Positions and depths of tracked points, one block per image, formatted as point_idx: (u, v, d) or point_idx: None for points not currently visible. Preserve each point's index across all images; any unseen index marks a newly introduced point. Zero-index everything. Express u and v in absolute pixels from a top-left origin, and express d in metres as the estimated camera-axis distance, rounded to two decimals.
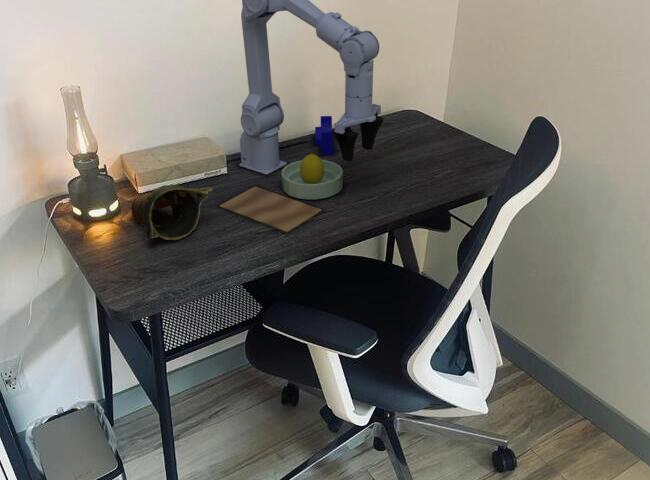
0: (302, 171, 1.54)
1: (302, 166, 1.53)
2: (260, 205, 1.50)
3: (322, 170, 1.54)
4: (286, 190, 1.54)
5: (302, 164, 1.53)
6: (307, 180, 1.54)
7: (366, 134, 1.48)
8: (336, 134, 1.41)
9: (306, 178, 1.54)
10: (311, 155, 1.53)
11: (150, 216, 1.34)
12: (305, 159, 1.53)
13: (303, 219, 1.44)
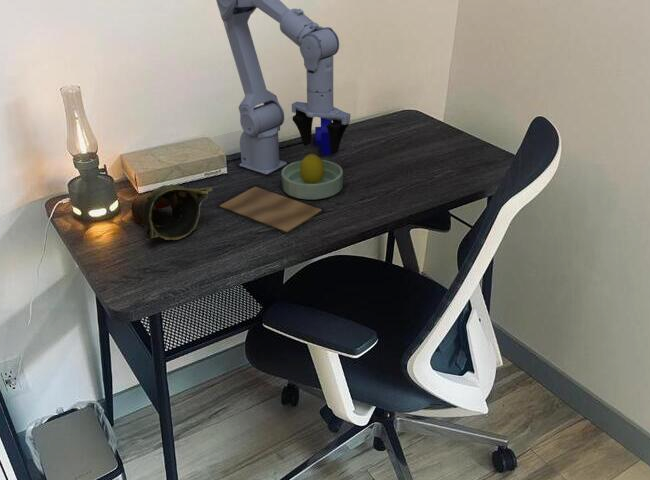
0: (302, 171, 1.54)
1: (302, 166, 1.53)
2: (260, 205, 1.50)
3: (322, 170, 1.54)
4: (286, 190, 1.54)
5: (302, 164, 1.53)
6: (307, 180, 1.54)
7: None
8: None
9: (306, 178, 1.54)
10: (311, 155, 1.53)
11: (150, 216, 1.34)
12: (305, 159, 1.53)
13: (303, 219, 1.44)
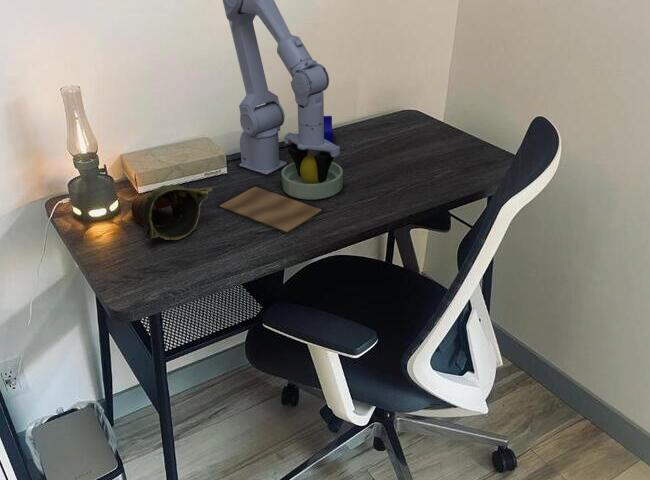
0: (302, 171, 1.54)
1: (302, 166, 1.53)
2: (260, 205, 1.50)
3: None
4: (286, 190, 1.54)
5: (302, 164, 1.53)
6: (307, 180, 1.54)
7: None
8: None
9: (306, 178, 1.54)
10: (311, 155, 1.53)
11: (150, 216, 1.34)
12: (305, 159, 1.53)
13: (303, 219, 1.44)
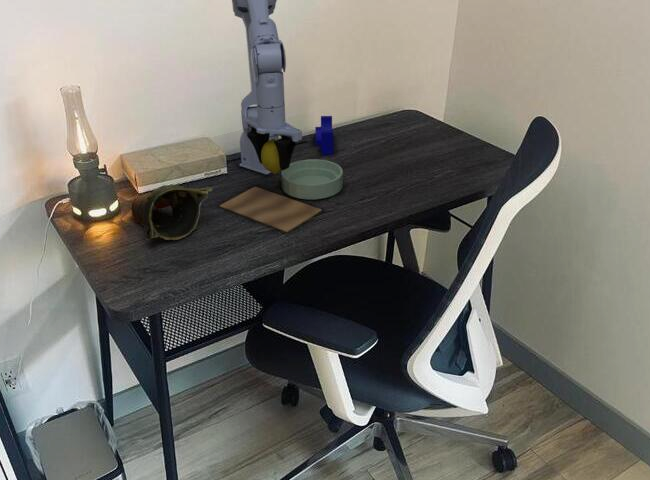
0: (263, 158, 1.42)
1: (263, 152, 1.42)
2: (260, 205, 1.50)
3: None
4: (286, 190, 1.54)
5: (263, 150, 1.42)
6: (268, 168, 1.43)
7: None
8: None
9: (267, 166, 1.43)
10: (272, 140, 1.41)
11: (150, 216, 1.34)
12: (266, 145, 1.42)
13: (303, 219, 1.44)
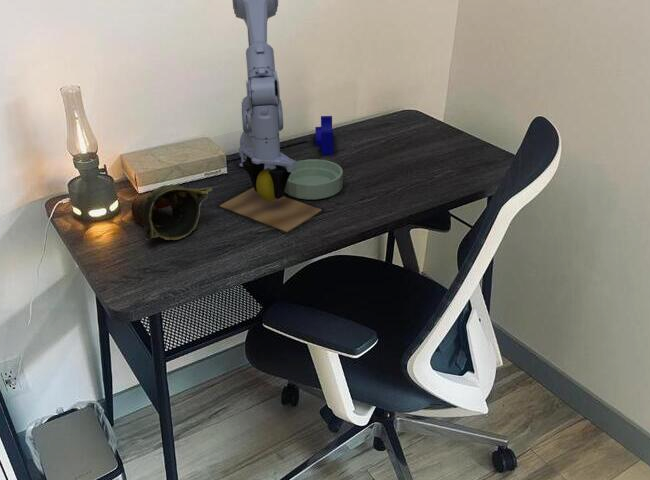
0: (258, 186, 1.44)
1: (258, 181, 1.44)
2: (260, 205, 1.50)
3: None
4: (286, 190, 1.54)
5: (258, 179, 1.44)
6: (263, 196, 1.45)
7: None
8: None
9: (262, 194, 1.45)
10: (267, 169, 1.44)
11: (150, 216, 1.34)
12: (261, 174, 1.44)
13: (303, 219, 1.44)
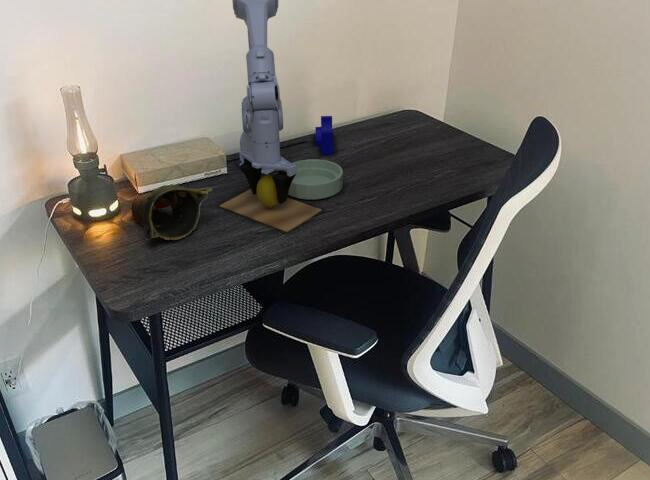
0: (258, 193, 1.45)
1: (258, 187, 1.45)
2: (260, 205, 1.50)
3: None
4: None
5: (258, 185, 1.45)
6: (264, 202, 1.46)
7: None
8: None
9: (262, 200, 1.46)
10: (267, 176, 1.44)
11: (150, 216, 1.34)
12: (261, 180, 1.45)
13: (303, 219, 1.44)
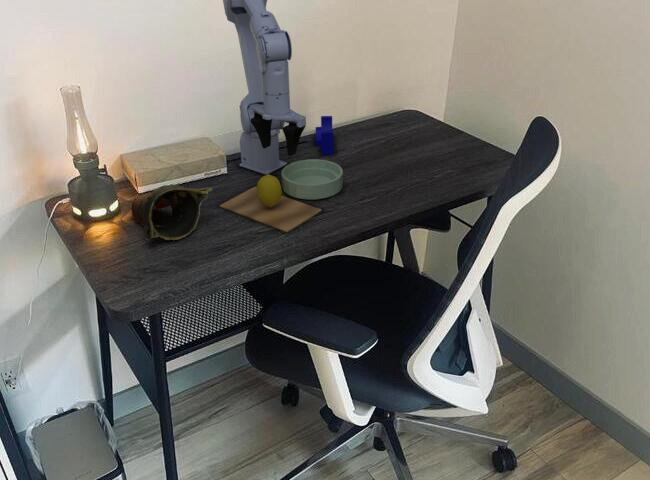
0: (258, 193, 1.45)
1: (258, 187, 1.45)
2: (260, 205, 1.50)
3: (279, 191, 1.45)
4: (286, 190, 1.54)
5: (258, 185, 1.45)
6: (264, 202, 1.46)
7: None
8: None
9: (262, 200, 1.46)
10: (267, 176, 1.44)
11: (150, 216, 1.34)
12: (261, 180, 1.45)
13: (303, 219, 1.44)
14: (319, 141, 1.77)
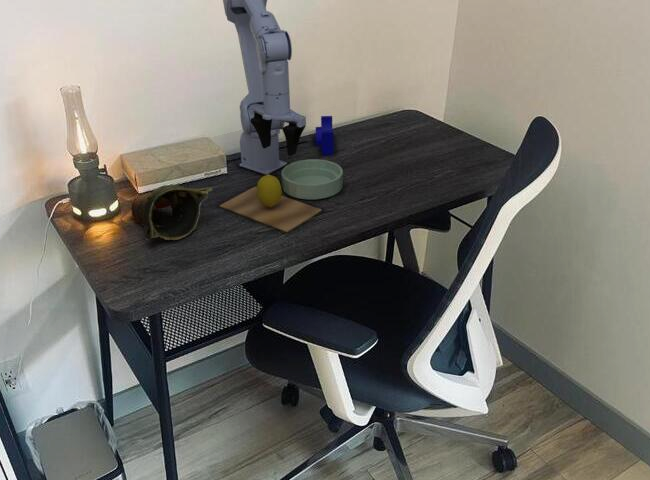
0: (258, 193, 1.45)
1: (258, 187, 1.45)
2: (260, 205, 1.50)
3: (279, 191, 1.45)
4: (286, 190, 1.54)
5: (258, 185, 1.45)
6: (264, 202, 1.46)
7: None
8: None
9: (262, 200, 1.46)
10: (267, 176, 1.44)
11: (150, 216, 1.34)
12: (261, 180, 1.45)
13: (303, 219, 1.44)
14: (319, 141, 1.77)
